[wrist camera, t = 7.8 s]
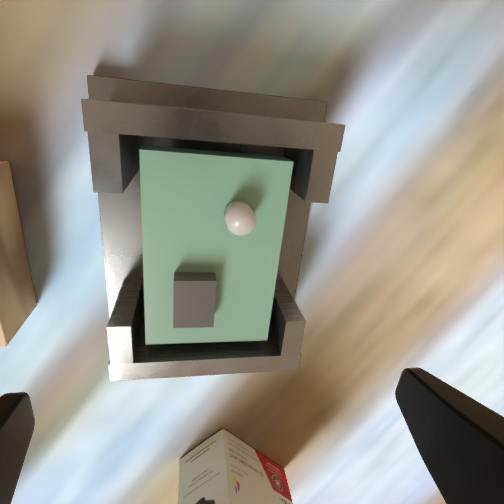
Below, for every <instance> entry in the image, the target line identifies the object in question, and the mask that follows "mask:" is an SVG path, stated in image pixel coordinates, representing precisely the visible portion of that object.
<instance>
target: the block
mask: <svg viewBox="0 0 504 504" xmlns="http://www.w3.org/2000/svg"><path fill="white" fill-rule="evenodd" d="M36 306H37V304H36V299H35V294H34V289H33V283H32V278H31V273H30V268H29V263H28V258H27V252H26V247H25V242H24V237H23V232H22V227H21V221H20V216H19V211H18V206H17V201H16V196H15V190H14V185H13V180H12V175H11V170H10V165H9V161H0V346H7V345H8V343H9V342H10V341H11V339H12V338H13V337H14V335H15V334H16V333H17V331H18V330H19V329H20V327H21V326H22V325H23V323H24V322H25V320H26V319H27V318H28V316H29V315H30V314H31V312H32V311H33V310H34V308H35V307H36Z"/></svg>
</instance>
